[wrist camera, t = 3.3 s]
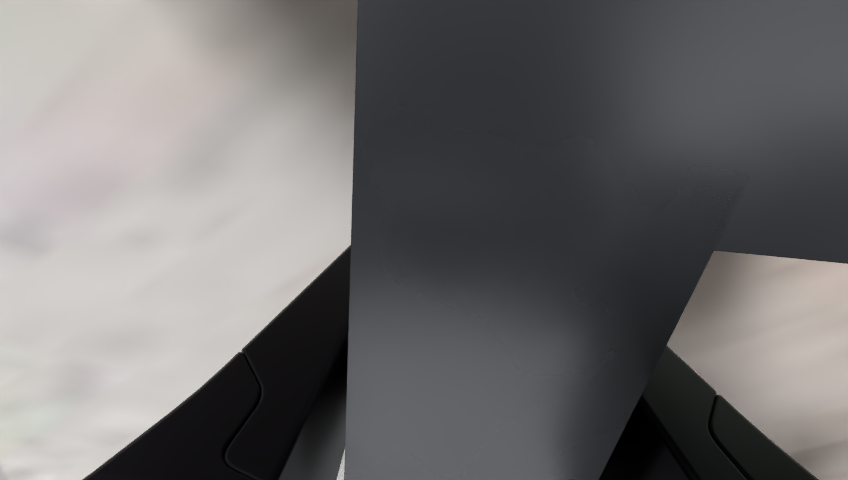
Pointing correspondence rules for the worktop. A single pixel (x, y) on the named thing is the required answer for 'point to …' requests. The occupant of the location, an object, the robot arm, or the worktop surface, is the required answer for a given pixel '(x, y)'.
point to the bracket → (566, 210)
